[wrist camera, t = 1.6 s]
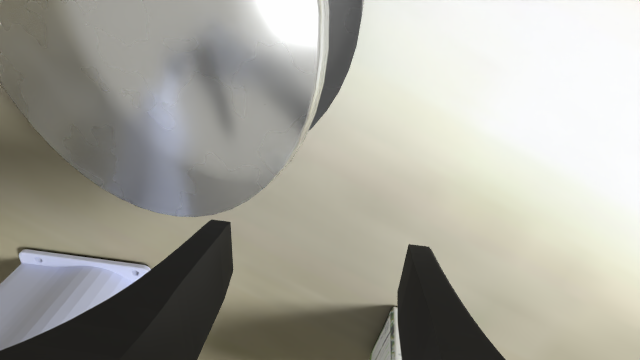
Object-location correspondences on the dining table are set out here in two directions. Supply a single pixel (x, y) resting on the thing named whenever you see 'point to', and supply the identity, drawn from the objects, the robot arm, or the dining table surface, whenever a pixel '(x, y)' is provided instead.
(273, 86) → the cooker lid
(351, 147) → the dining table surface
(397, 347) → the syrup box
